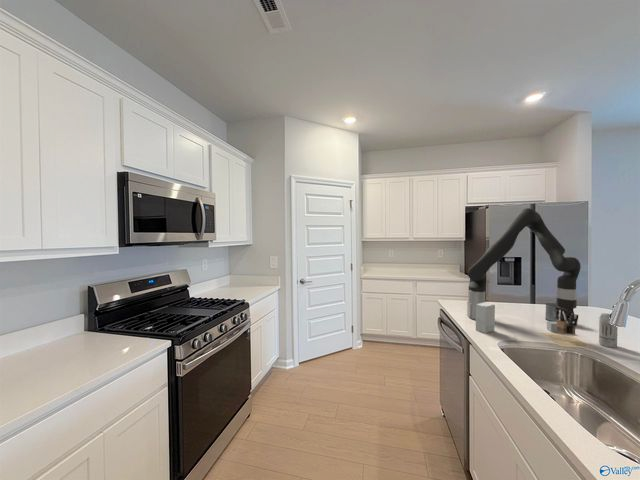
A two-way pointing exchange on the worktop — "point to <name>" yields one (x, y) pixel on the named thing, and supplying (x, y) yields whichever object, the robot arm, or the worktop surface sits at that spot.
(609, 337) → the energy drink can
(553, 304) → the small box
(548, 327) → the grey block
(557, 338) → the letter
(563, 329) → the walnut cube
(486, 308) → the skincare box
